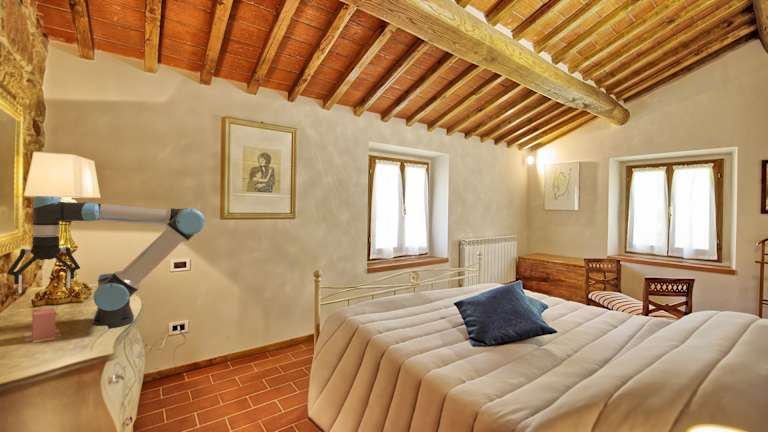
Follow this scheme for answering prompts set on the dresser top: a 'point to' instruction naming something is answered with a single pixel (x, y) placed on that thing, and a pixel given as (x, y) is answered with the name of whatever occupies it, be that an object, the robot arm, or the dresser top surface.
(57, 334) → the board
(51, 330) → the sanding block
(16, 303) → the dresser top surface
